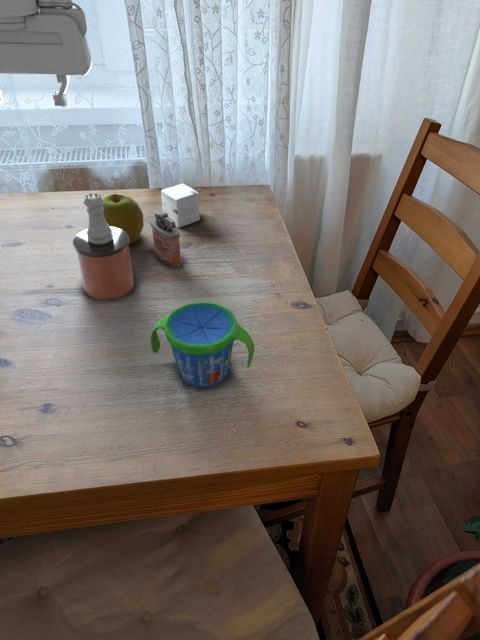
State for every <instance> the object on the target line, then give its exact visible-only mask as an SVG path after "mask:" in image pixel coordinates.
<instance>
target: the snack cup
mask: <svg viewBox="0 0 480 640" xmlns="http://www.w3.org/2000/svg"><path fill="white" fill-rule="evenodd" d="M159 329H161V330H163V331H164V334H165V338H166V340H167V342H168V344H169V345H170V348H171V351H172V354H173V357H174V361H175V364H176V368H177V371H178V373H179V375H180V377H181V379H182V380H183V381H184V382H185V383H186V384H188V385H191V386H193V387H198V388H208V387H213V386H216V385H218V384H219V383H221V382H222V381H224V379H225V378H226V377H227V375H228V373H229V369H230V363H231V359H232V352H233V347H234V346H233V345H234V341H240V342H242V343H244V344H245V347H246V349H247V351H248V353H247V354H248V356H247V364H246V368H250V366H251V364H252V361H253V357H254V354H255V344H254V341H253V338H252V337H251V335H250V334H249V332H248V331H247V330H246V329H245V328H243V327H242V326H241V325H240V324H239V323H238V320H237V317H236V316H235V314H234V313H233V311H231V310H230V309H229V308H228V307H225V306H224V305H221V304H219V303H215V302H207V301H198V302H190V303H187V304H184V305H181V306H179V307H177V308H176V309H174V310H173V311H172V312H171V313H169V314H168V315H166V316H164V317H161V318H160V319H159V320H158V321H157V323H156V324H155V326H154V327H153V329H152V331H151V333H150V348H151V351H152V353H153V354H157V353H158V352H159V350H160V348H161V341H160V339H159V336H158V332H157V331H158V330H159Z"/></svg>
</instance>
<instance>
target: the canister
mask: <svg viewBox="0 0 480 640" xmlns="http://www.w3.org/2000/svg"><path fill="white" fill-rule="evenodd" d="M110 228H111V229H112V234H113V238H112V240H111V241H110V242H109V243H107V244H103V245H95V244H92V243H90V242H89V241H88V239H87V234H86V233H87V229H88V228H87V229H84V230H81V231H80V232H78V233H77V234H76V235H75V236H74V237H73V238H72V245H73V249H74V251H75V254H76V259H77V263H78V268H79V271H80V276H81V280H82V284H83V289H84V292H85V293H86V294H87V296H89V297H91V298H93V299H97V300H114V299H118V298H121V297H123V296H125V295H127V294H129V293H130V292H131V291H132V290H133V288H134V286H135V282H134V281H135V280H134V273H133V268H132V260H131V253H130V247H129V245H128V244H129V238H128V235H127V233H126V232H125V231H123V230H121V229H119V228H116V227H110Z"/></svg>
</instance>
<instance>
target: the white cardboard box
mask: <svg viewBox="0 0 480 640" xmlns="http://www.w3.org/2000/svg"><path fill="white" fill-rule="evenodd" d="M160 191H161V203H162V213H165V212H166V213H167V214H168V216H169V218H171V219H172V220H174V221H175V225H176V228H177V229H178V228H182V227H185V226H188V225H190V224H193V223H195V222H198V221H200V219H201V218H200V215H201V214H200V192H199V191H196V190H195V189H193V188H192V187H190V186H188V185H187V184H185V183H180V184H177V185H173V186H170V187H167V188H163V189H161V190H160Z"/></svg>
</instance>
